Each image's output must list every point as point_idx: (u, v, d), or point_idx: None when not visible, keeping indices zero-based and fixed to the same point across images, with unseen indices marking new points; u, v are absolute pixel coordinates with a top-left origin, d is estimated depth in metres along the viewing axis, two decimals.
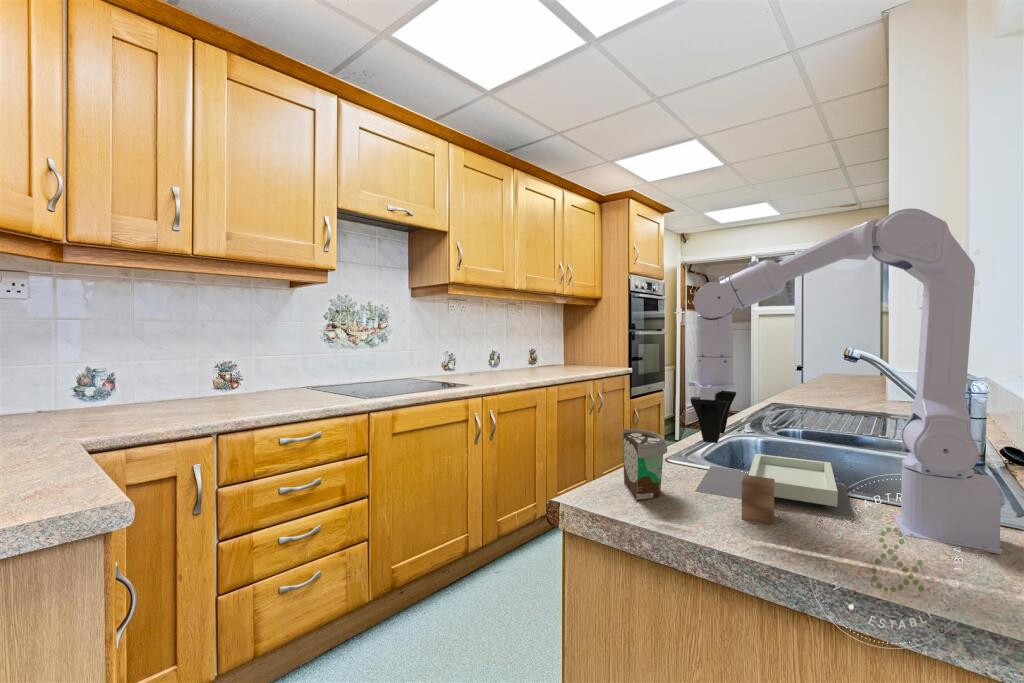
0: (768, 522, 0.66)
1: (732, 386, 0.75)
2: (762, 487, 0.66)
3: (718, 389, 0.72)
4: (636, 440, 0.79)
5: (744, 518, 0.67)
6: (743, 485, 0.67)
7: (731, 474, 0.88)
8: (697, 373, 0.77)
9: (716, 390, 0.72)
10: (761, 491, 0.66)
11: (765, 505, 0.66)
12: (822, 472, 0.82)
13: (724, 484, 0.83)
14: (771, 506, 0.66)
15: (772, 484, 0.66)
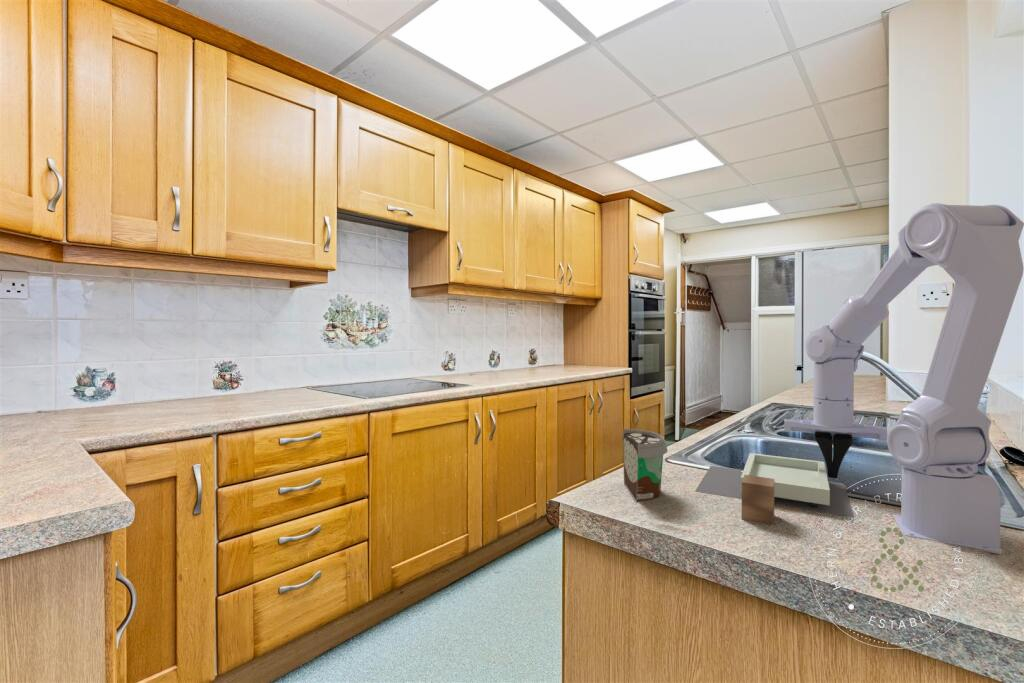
0: (768, 522, 0.66)
1: (826, 428, 0.78)
2: (762, 487, 0.66)
3: (797, 424, 0.82)
4: (636, 440, 0.79)
5: (744, 518, 0.67)
6: (743, 485, 0.67)
7: (731, 474, 0.88)
8: None
9: (793, 424, 0.82)
10: (761, 491, 0.66)
11: (765, 505, 0.66)
12: (816, 471, 0.83)
13: (724, 484, 0.83)
14: (771, 506, 0.66)
15: (772, 484, 0.66)
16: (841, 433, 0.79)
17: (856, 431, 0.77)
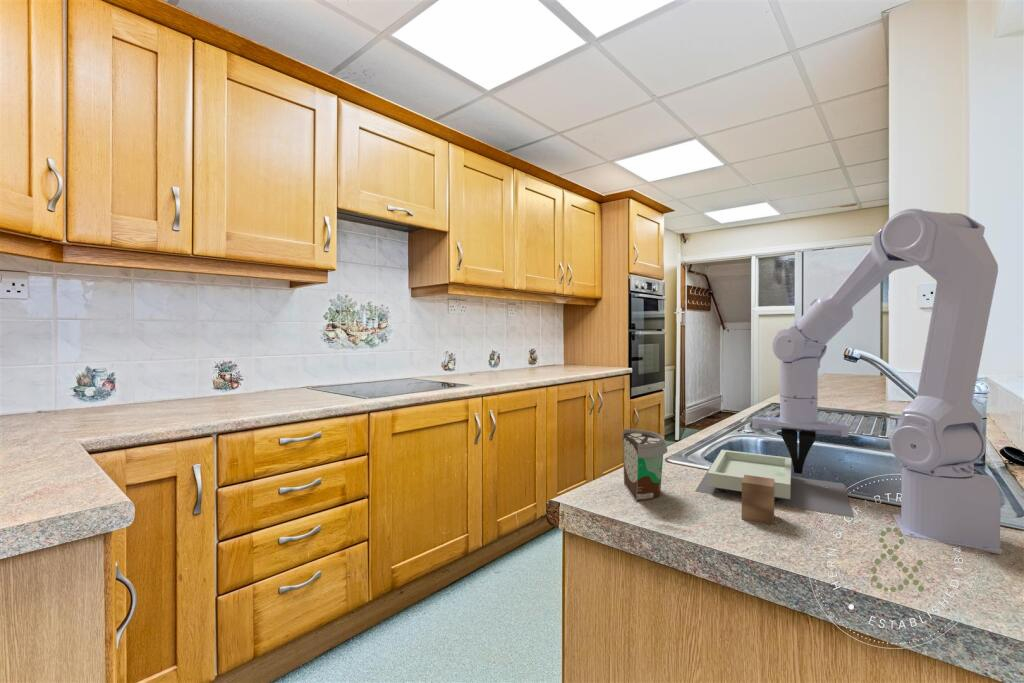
0: (768, 522, 0.66)
1: (791, 425, 0.81)
2: (761, 487, 0.66)
3: (764, 422, 0.84)
4: (636, 440, 0.79)
5: (744, 518, 0.67)
6: (743, 485, 0.67)
7: None
8: None
9: (760, 421, 0.85)
10: (761, 491, 0.66)
11: (765, 505, 0.66)
12: (783, 467, 0.85)
13: None
14: (771, 506, 0.66)
15: (772, 484, 0.66)
16: (806, 430, 0.82)
17: (819, 428, 0.79)
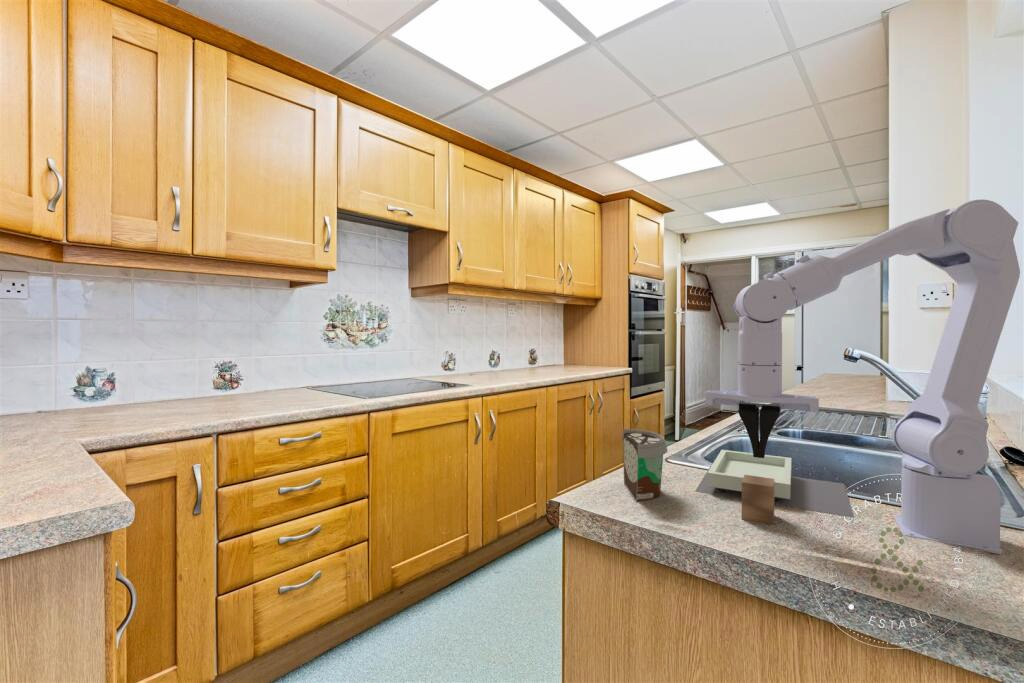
0: (768, 522, 0.66)
1: (749, 398, 0.66)
2: (761, 487, 0.66)
3: (719, 396, 0.70)
4: (636, 440, 0.79)
5: (744, 518, 0.67)
6: (743, 485, 0.67)
7: None
8: None
9: (714, 396, 0.70)
10: (761, 491, 0.66)
11: (765, 505, 0.66)
12: (783, 467, 0.85)
13: None
14: (771, 506, 0.66)
15: (772, 484, 0.66)
16: (768, 405, 0.67)
17: (783, 401, 0.65)
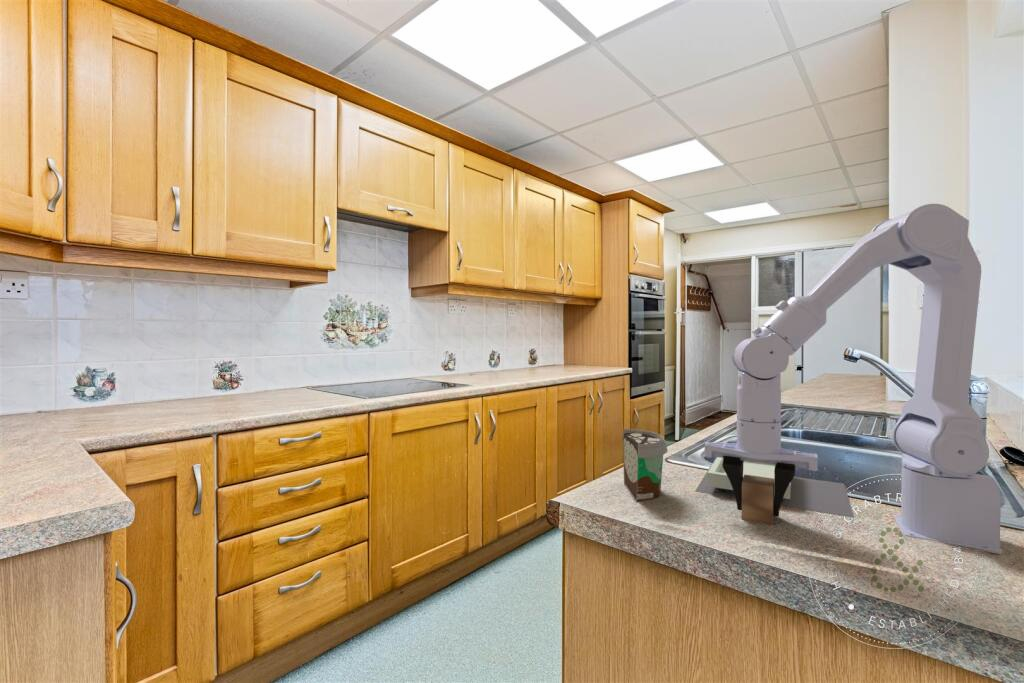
0: (768, 522, 0.66)
1: (748, 455, 0.66)
2: (762, 486, 0.66)
3: (718, 449, 0.70)
4: (636, 440, 0.79)
5: (744, 518, 0.67)
6: (743, 485, 0.67)
7: None
8: None
9: (713, 449, 0.70)
10: (761, 490, 0.66)
11: (765, 504, 0.66)
12: None
13: None
14: (771, 506, 0.66)
15: (772, 484, 0.66)
16: (767, 460, 0.67)
17: (782, 459, 0.65)
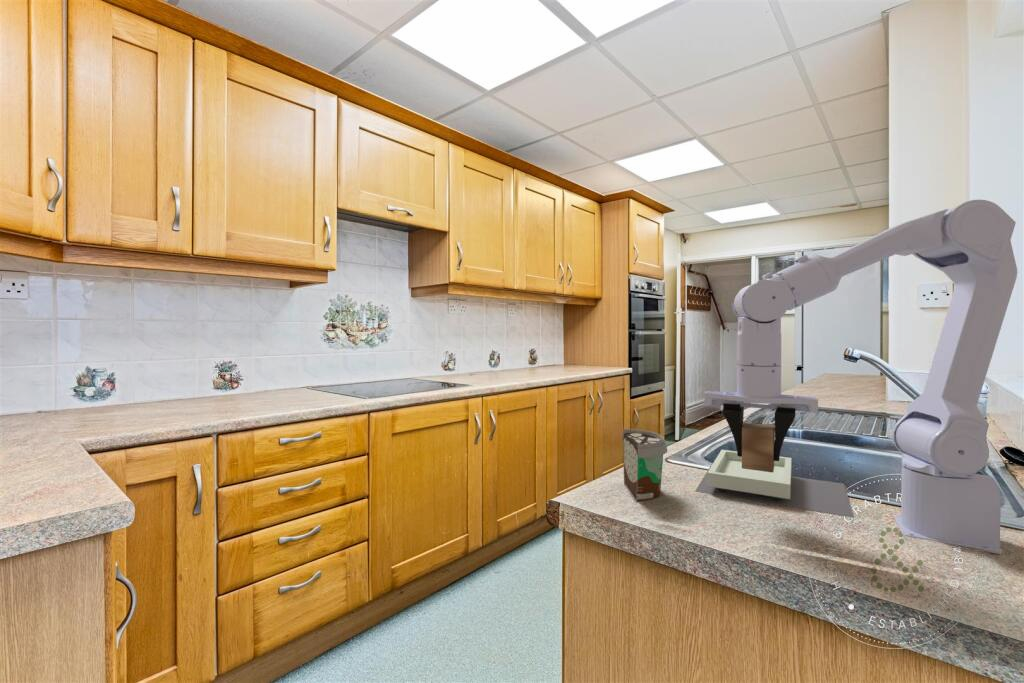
0: (768, 466, 0.66)
1: (748, 399, 0.66)
2: (762, 431, 0.66)
3: (718, 397, 0.69)
4: (636, 440, 0.79)
5: (744, 463, 0.67)
6: (743, 430, 0.67)
7: None
8: None
9: (713, 396, 0.70)
10: (762, 435, 0.66)
11: (765, 449, 0.66)
12: (783, 467, 0.85)
13: None
14: (771, 450, 0.65)
15: (772, 428, 0.66)
16: (767, 406, 0.67)
17: (782, 402, 0.64)
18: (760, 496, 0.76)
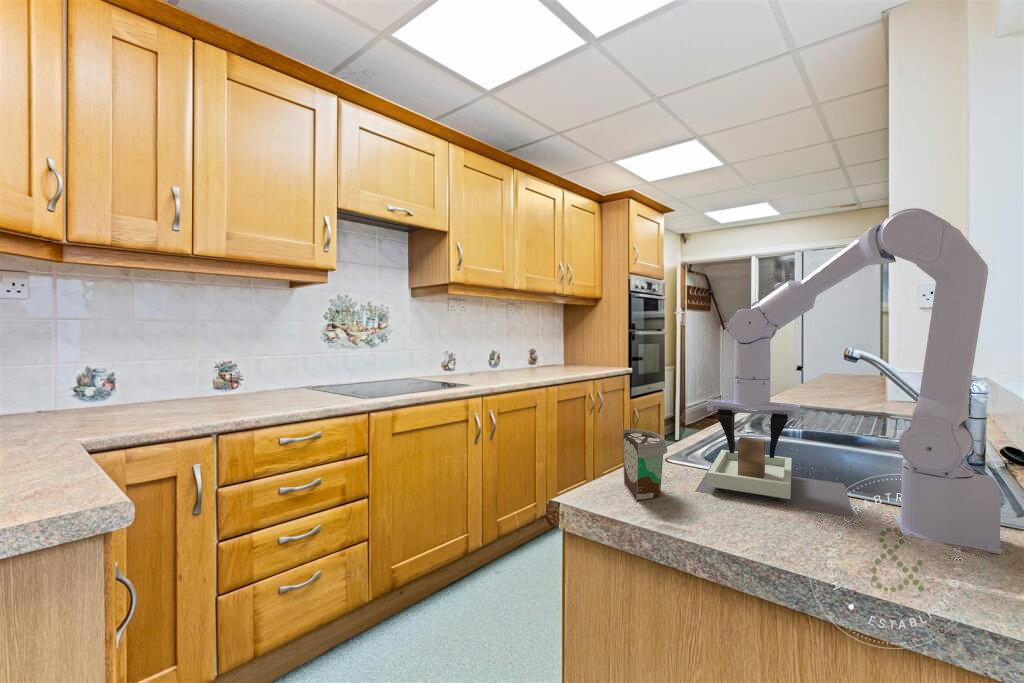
0: (759, 473, 0.79)
1: (743, 406, 0.80)
2: (754, 444, 0.80)
3: (718, 404, 0.84)
4: (636, 440, 0.79)
5: (740, 471, 0.81)
6: (739, 443, 0.81)
7: None
8: None
9: (714, 404, 0.84)
10: (754, 447, 0.80)
11: (757, 459, 0.80)
12: (783, 467, 0.85)
13: None
14: (762, 460, 0.79)
15: (763, 442, 0.80)
16: (759, 412, 0.81)
17: (771, 409, 0.78)
18: (760, 496, 0.76)
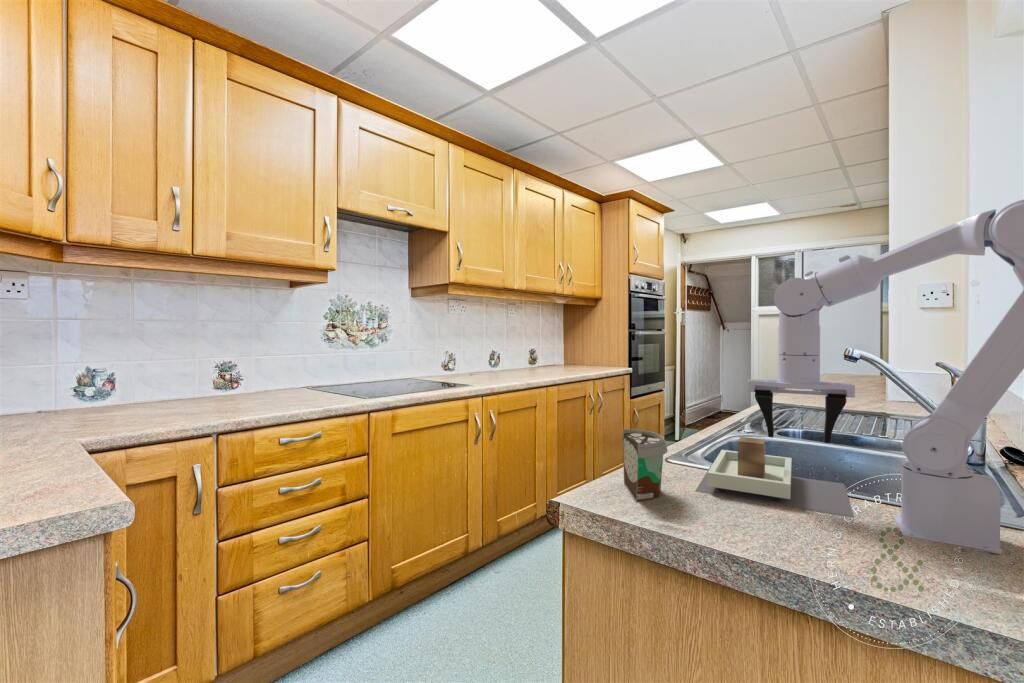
0: (759, 473, 0.79)
1: (790, 385, 0.73)
2: (754, 444, 0.80)
3: (760, 384, 0.76)
4: (636, 440, 0.79)
5: (740, 471, 0.81)
6: (739, 443, 0.81)
7: None
8: None
9: (756, 384, 0.77)
10: (754, 447, 0.80)
11: (757, 459, 0.80)
12: (783, 467, 0.85)
13: None
14: (762, 460, 0.79)
15: (763, 442, 0.80)
16: (807, 391, 0.74)
17: (822, 388, 0.71)
18: (760, 496, 0.76)
